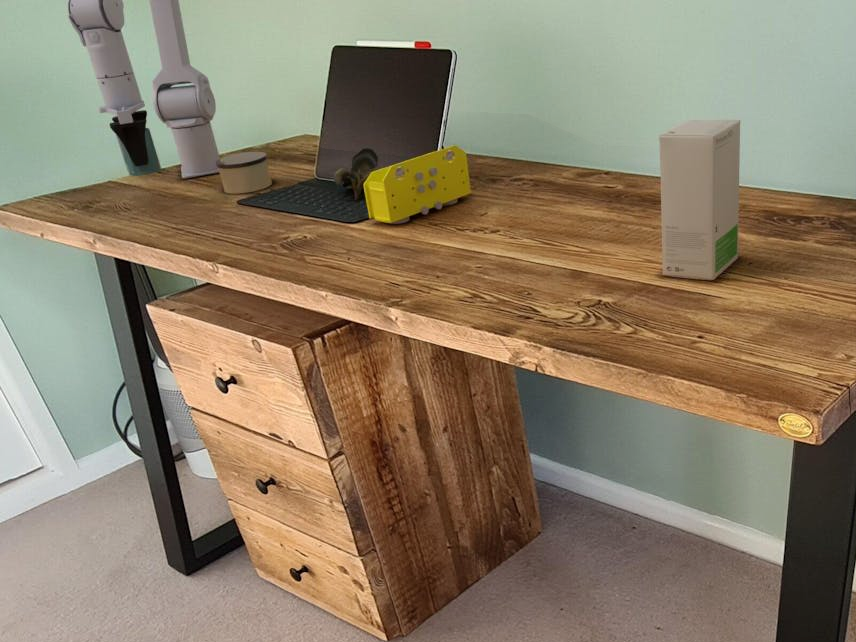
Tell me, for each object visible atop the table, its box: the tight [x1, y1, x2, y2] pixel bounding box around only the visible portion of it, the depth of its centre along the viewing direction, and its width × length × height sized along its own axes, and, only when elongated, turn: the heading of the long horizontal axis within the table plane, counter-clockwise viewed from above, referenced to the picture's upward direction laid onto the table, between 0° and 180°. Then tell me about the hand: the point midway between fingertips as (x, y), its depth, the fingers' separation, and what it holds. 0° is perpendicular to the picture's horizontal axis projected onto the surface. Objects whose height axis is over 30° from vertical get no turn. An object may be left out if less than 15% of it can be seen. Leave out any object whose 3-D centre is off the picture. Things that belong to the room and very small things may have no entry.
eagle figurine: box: [333, 147, 379, 201], centre depth 146 cm, size 8×7×9 cm
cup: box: [115, 127, 162, 177], centre depth 150 cm, size 5×5×6 cm
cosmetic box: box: [658, 119, 741, 281], centre depth 99 cm, size 8×7×16 cm
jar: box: [216, 151, 273, 195], centre depth 158 cm, size 9×9×5 cm
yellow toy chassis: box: [363, 144, 472, 225], centre depth 133 cm, size 16×6×8 cm, turn 137°
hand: (142, 161), depth 151 cm, fingers closed on cup, 5 cm apart
